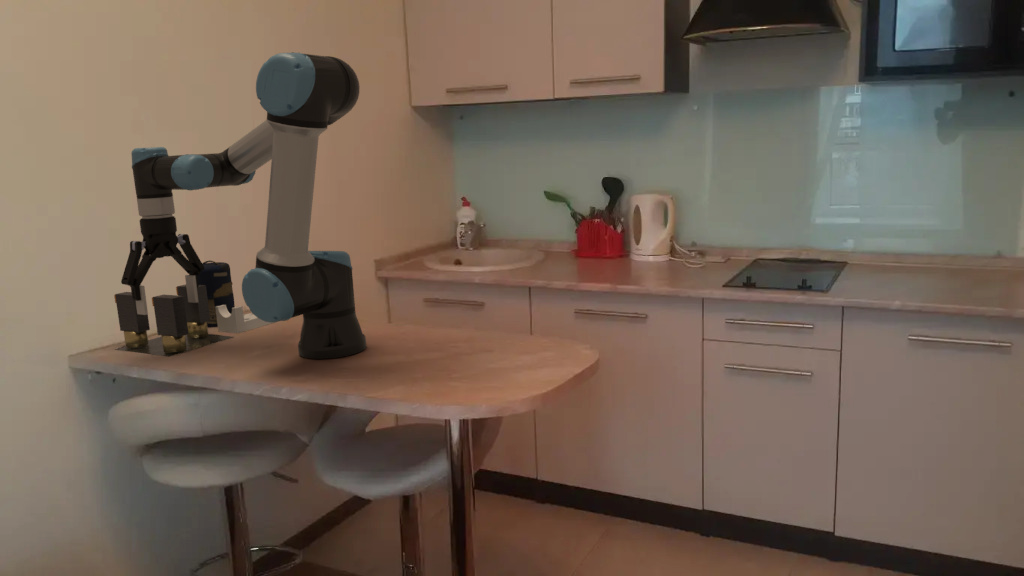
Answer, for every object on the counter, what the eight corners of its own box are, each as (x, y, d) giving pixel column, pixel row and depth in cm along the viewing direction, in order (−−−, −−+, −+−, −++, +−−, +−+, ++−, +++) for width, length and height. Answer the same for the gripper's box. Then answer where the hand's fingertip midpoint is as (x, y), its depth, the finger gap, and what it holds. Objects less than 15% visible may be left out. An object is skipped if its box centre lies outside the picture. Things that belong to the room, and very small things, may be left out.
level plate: (235, 339, 197) (234, 331, 196) (169, 359, 180) (168, 350, 180) (182, 334, 206) (180, 325, 206) (115, 352, 190) (113, 343, 190)
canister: (224, 320, 221) (217, 256, 217) (243, 324, 215) (236, 258, 211) (192, 328, 213) (184, 262, 210) (211, 331, 207) (202, 264, 204)
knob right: (215, 334, 199) (209, 284, 197) (198, 338, 195) (192, 288, 193) (195, 332, 203) (189, 283, 201) (179, 336, 199) (172, 286, 196)
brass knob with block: (155, 343, 192) (148, 292, 190) (137, 348, 188) (129, 296, 186) (136, 341, 196) (129, 290, 194) (117, 346, 192) (110, 294, 190)
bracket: (237, 337, 200) (234, 308, 199) (218, 335, 204) (215, 306, 203) (276, 326, 211) (273, 298, 210) (257, 324, 215) (254, 297, 214)
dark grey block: (194, 348, 185) (187, 295, 183) (175, 353, 181) (168, 299, 179) (173, 345, 189) (166, 293, 187) (155, 351, 185) (147, 297, 183)
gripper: (192, 210, 192) (202, 296, 196) (95, 222, 171) (108, 318, 175) (213, 211, 188) (223, 298, 192) (117, 222, 167) (130, 320, 171)
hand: (168, 308), depth 183 cm, fingers open, 13 cm apart
